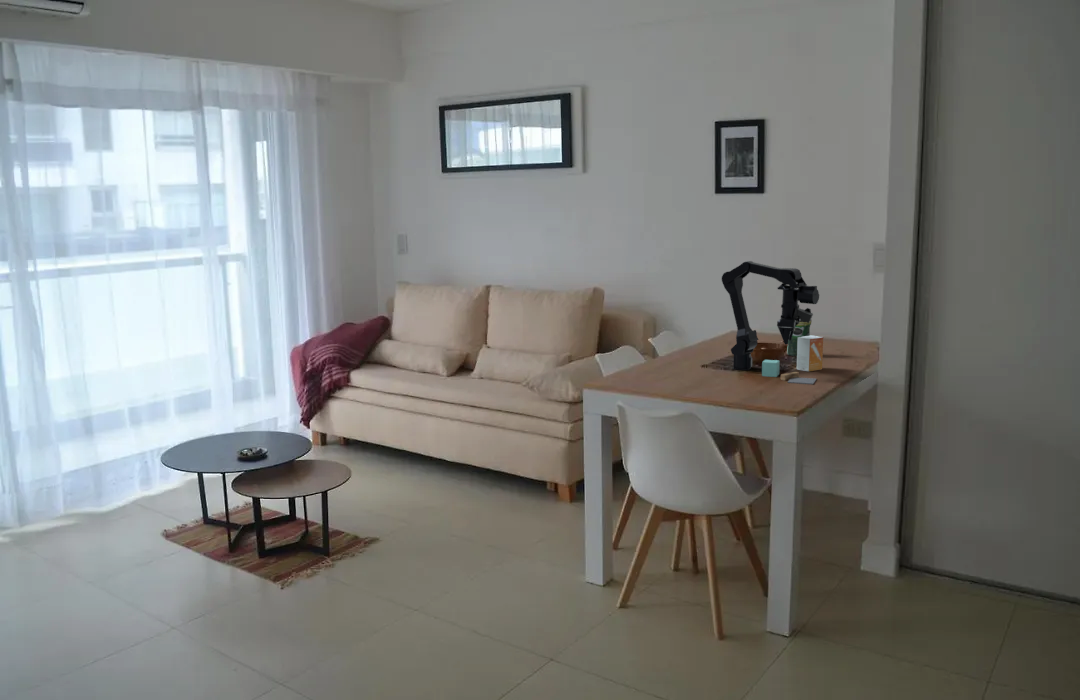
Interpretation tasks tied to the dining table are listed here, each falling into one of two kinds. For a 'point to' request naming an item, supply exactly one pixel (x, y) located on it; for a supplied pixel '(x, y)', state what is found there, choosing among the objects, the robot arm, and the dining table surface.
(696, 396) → the dining table surface
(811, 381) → the coaster
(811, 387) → the dining table surface
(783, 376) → the tan bar
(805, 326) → the coffee jar
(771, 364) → the teal block
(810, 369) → the small box
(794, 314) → the robot arm
